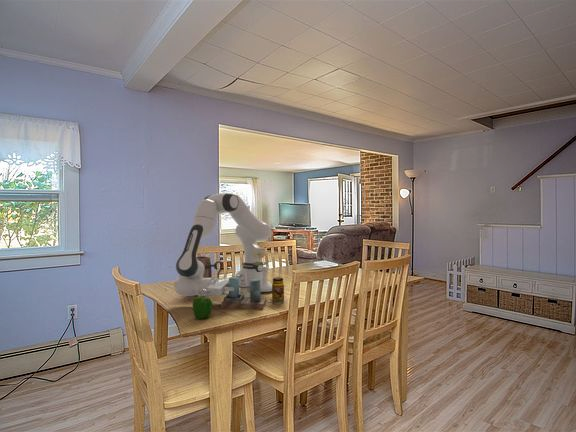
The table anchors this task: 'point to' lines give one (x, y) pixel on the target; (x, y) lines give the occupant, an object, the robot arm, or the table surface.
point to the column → (234, 283)
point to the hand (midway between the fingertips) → (235, 287)
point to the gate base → (247, 303)
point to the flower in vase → (259, 254)
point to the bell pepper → (202, 307)
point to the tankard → (208, 267)
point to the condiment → (277, 291)
